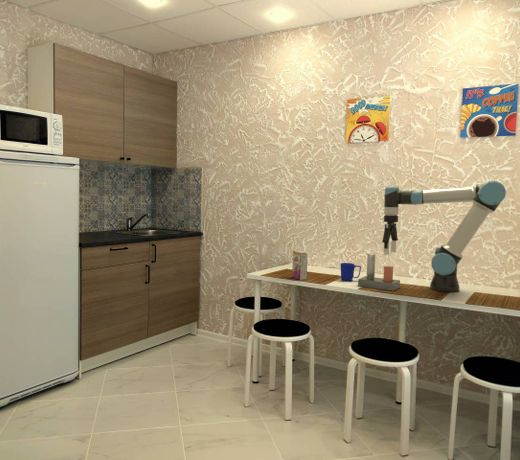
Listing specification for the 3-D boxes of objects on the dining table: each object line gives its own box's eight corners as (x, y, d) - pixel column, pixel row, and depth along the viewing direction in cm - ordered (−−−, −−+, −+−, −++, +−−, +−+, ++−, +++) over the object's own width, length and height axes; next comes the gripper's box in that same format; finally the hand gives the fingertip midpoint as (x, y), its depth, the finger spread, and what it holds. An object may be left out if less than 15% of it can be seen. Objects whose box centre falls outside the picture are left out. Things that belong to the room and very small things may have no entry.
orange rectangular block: (392, 287, 256) (393, 266, 255) (390, 288, 253) (391, 267, 252) (385, 286, 258) (386, 265, 258) (382, 288, 255) (383, 266, 254)
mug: (360, 282, 270) (361, 265, 270) (339, 281, 273) (340, 264, 272) (360, 279, 278) (360, 263, 278) (340, 278, 281) (340, 262, 280)
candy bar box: (291, 277, 282) (292, 250, 281) (298, 276, 284) (299, 250, 283) (299, 280, 272) (300, 252, 270) (307, 280, 274) (308, 252, 272)
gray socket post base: (399, 287, 258) (401, 255, 257) (393, 290, 248) (395, 257, 247) (365, 283, 269) (366, 252, 267) (357, 286, 258) (359, 254, 257)
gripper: (390, 214, 265) (389, 250, 267) (377, 215, 244) (376, 255, 245) (403, 214, 261) (402, 251, 263) (391, 215, 240) (390, 256, 241)
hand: (389, 253), depth 254 cm, fingers open, 13 cm apart
